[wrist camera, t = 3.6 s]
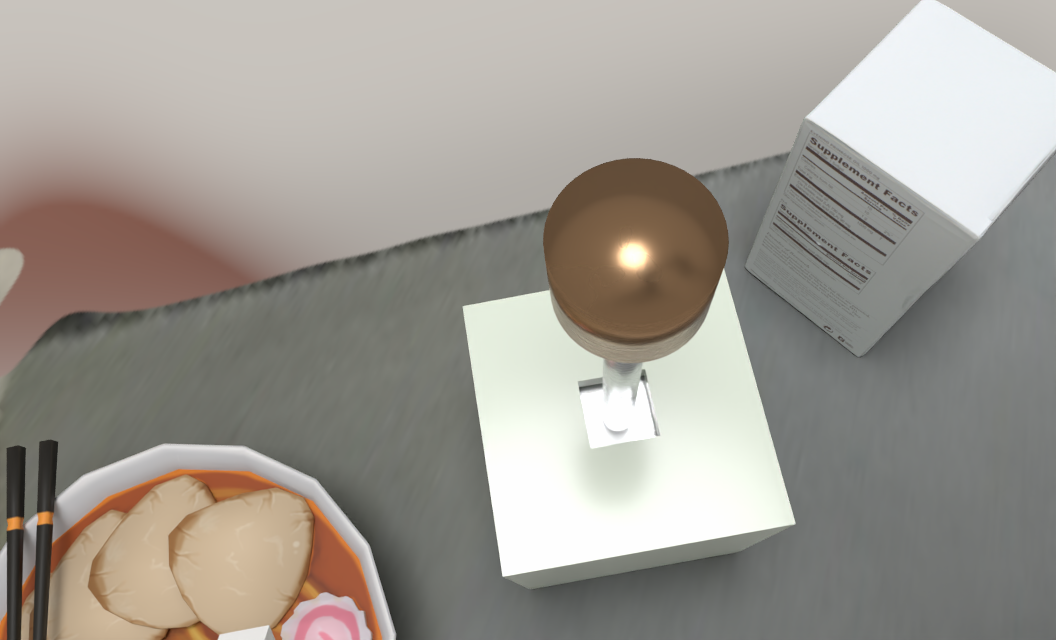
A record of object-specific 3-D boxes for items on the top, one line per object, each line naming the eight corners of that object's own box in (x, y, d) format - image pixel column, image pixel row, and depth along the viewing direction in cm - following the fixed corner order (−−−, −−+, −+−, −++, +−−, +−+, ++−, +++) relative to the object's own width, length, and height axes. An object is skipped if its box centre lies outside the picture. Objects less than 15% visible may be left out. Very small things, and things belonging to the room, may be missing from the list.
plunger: (692, 309, 38) (772, 48, 21) (743, 503, 35) (887, 385, 18) (502, 344, 38) (423, 114, 21) (534, 540, 35) (473, 460, 18)
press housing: (688, 353, 50) (721, 258, 37) (738, 551, 46) (795, 524, 32) (498, 388, 50) (462, 306, 37) (529, 589, 46) (503, 576, 33)
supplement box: (831, 171, 53) (929, -16, 38) (953, 257, 51) (1112, 93, 35) (738, 269, 52) (800, 114, 36) (858, 363, 49) (982, 241, 33)
